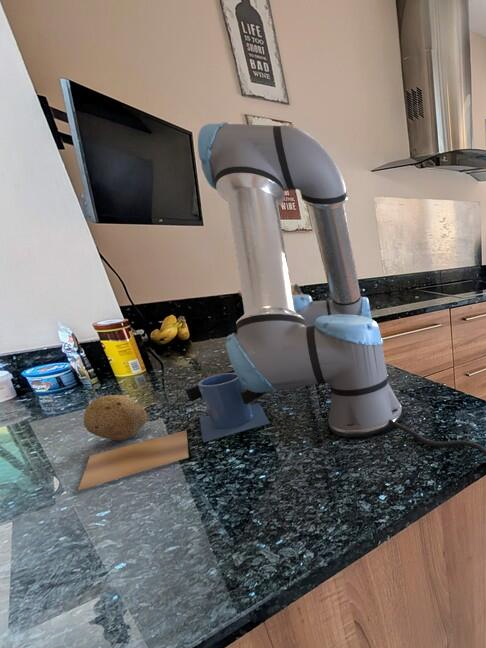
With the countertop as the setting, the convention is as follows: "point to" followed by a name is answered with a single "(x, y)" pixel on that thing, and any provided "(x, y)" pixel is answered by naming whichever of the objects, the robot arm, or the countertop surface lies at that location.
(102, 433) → the brown potato
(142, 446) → the cork mat
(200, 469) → the countertop surface
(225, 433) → the blue mat
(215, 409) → the blue cup
